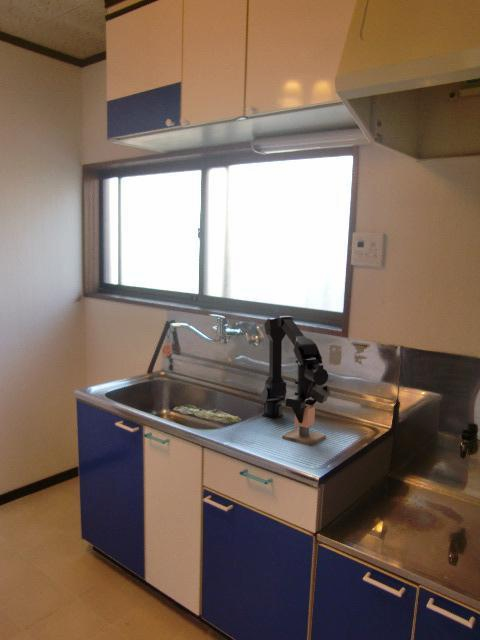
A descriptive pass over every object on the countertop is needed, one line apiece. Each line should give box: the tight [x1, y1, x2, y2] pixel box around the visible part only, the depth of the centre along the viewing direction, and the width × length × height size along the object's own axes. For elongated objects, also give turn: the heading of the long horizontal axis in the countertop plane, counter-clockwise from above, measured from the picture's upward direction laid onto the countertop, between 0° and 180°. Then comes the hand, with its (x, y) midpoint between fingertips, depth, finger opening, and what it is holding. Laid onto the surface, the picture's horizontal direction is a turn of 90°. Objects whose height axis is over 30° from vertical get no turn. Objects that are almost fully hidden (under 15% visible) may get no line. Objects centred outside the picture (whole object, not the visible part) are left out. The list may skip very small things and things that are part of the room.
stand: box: [281, 426, 327, 447], centre depth 179 cm, size 12×10×7 cm
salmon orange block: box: [293, 404, 316, 428], centre depth 178 cm, size 5×5×7 cm
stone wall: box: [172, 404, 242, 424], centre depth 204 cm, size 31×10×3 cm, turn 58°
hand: (304, 420), depth 178 cm, fingers closed on salmon orange block, 5 cm apart
